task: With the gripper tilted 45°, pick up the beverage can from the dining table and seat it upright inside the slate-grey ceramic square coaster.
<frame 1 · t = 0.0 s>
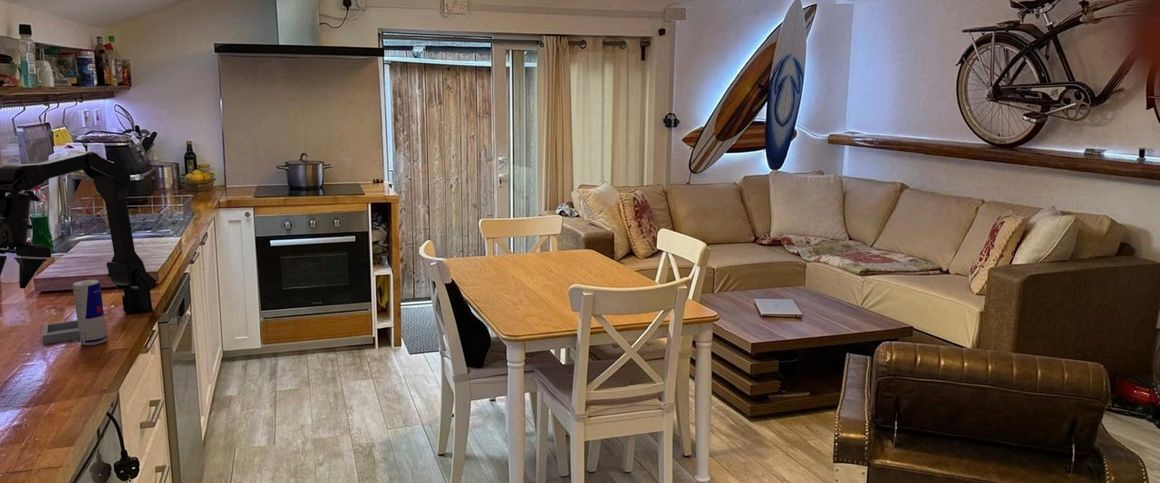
hand: (7, 286, 193), 15 cm above the table, tool pointing down, fingers open, 9 cm apart
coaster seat: (70, 334, 209), on the table
beverage can: (94, 343, 202), on the table
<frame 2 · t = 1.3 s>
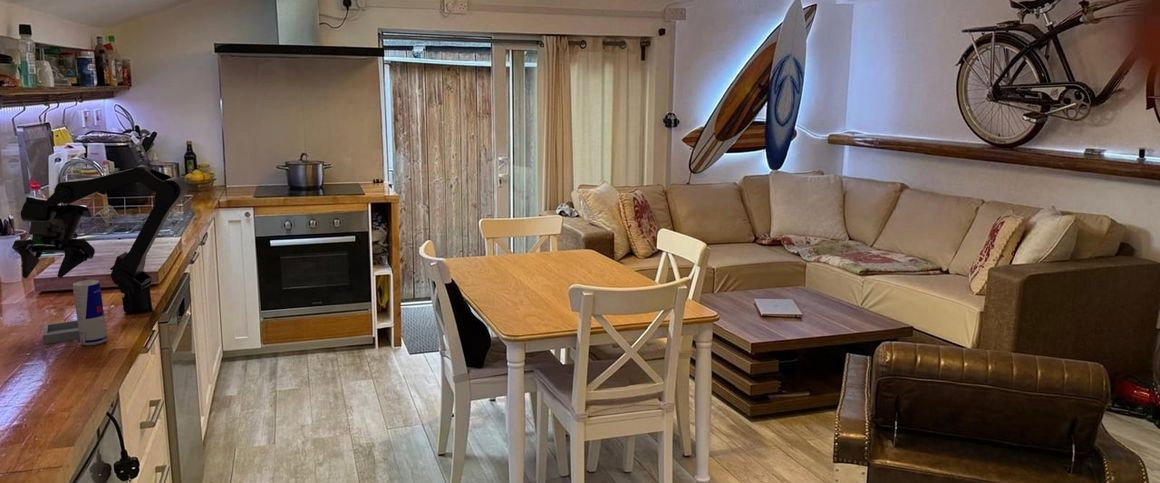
hand: (41, 277, 211), 13 cm above the table, tool tilted 45°, fingers open, 9 cm apart
nothing on the table moved.
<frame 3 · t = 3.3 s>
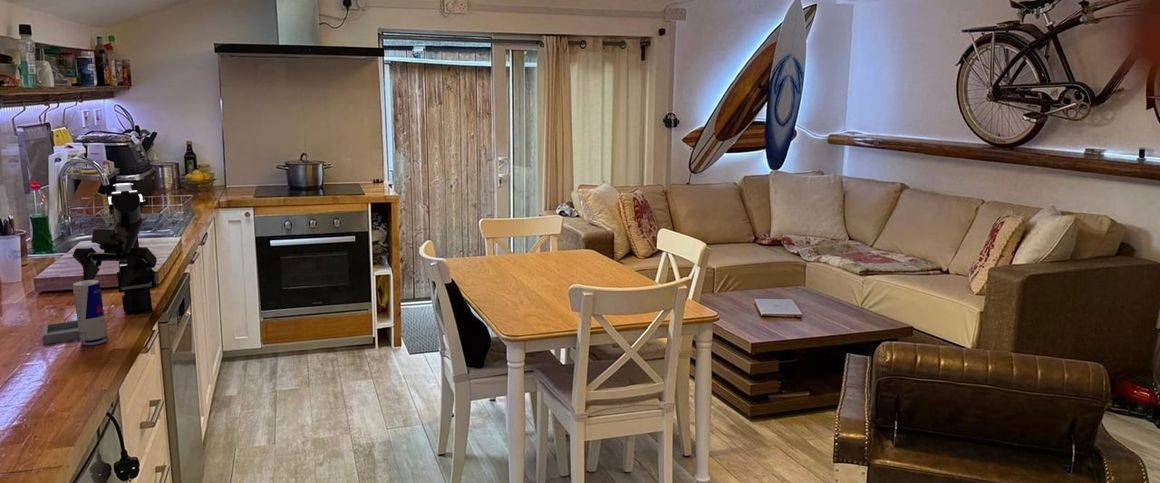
hand: (103, 286, 205), 12 cm above the table, tool tilted 45°, fingers open, 9 cm apart
nothing on the table moved.
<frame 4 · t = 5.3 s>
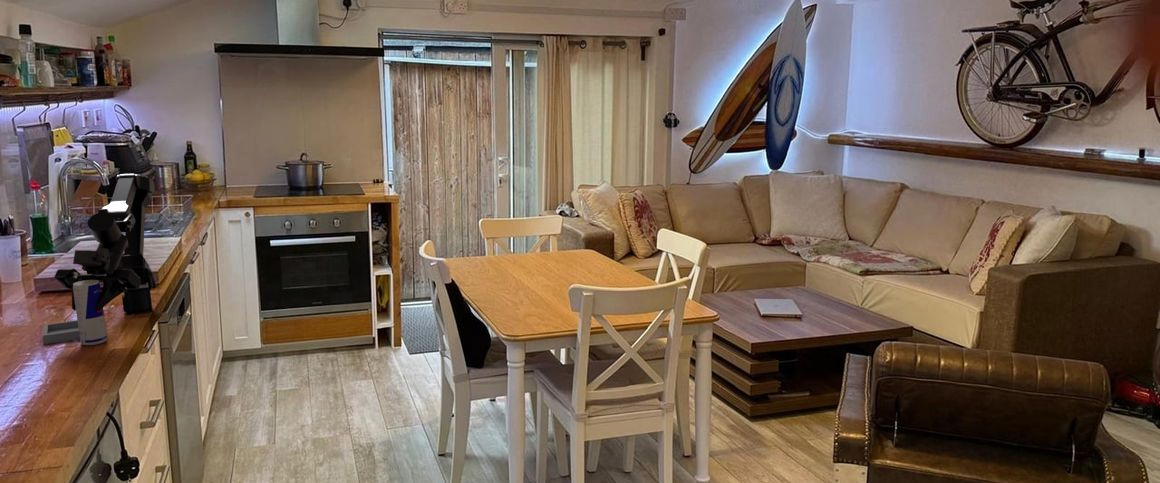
hand: (85, 309, 199), 9 cm above the table, tool tilted 45°, fingers closed on beverage can, 5 cm apart
beverage can: (94, 343, 202), on the table, touching gripper
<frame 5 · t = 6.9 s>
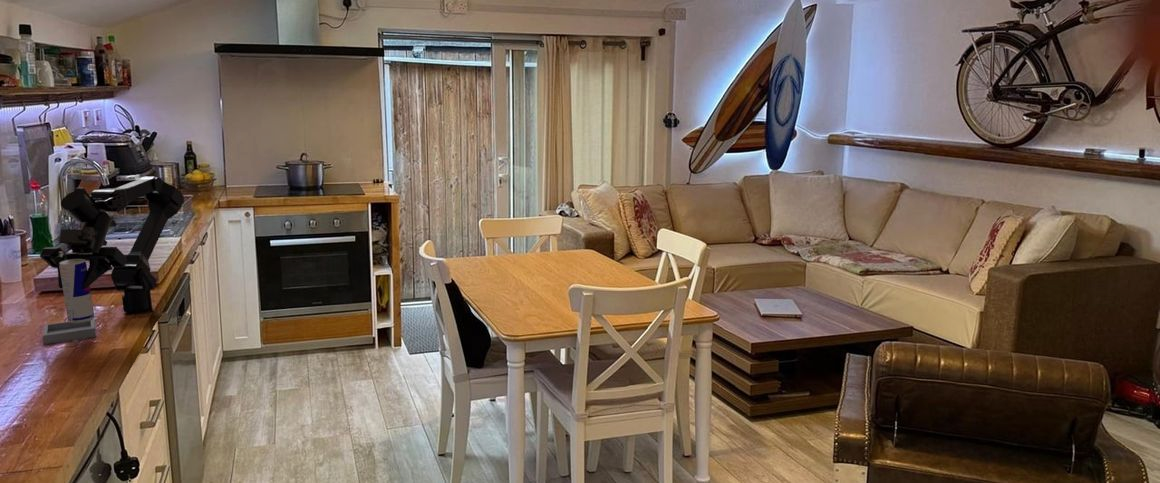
hand: (72, 287, 202), 13 cm above the table, tool tilted 45°, fingers closed on beverage can, 5 cm apart
beverage can: (81, 321, 205), point 4 cm above the table, touching gripper
when the fingers open (10 cm above the table, at t = 8.5 s): beverage can stays where it is, resting on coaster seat.
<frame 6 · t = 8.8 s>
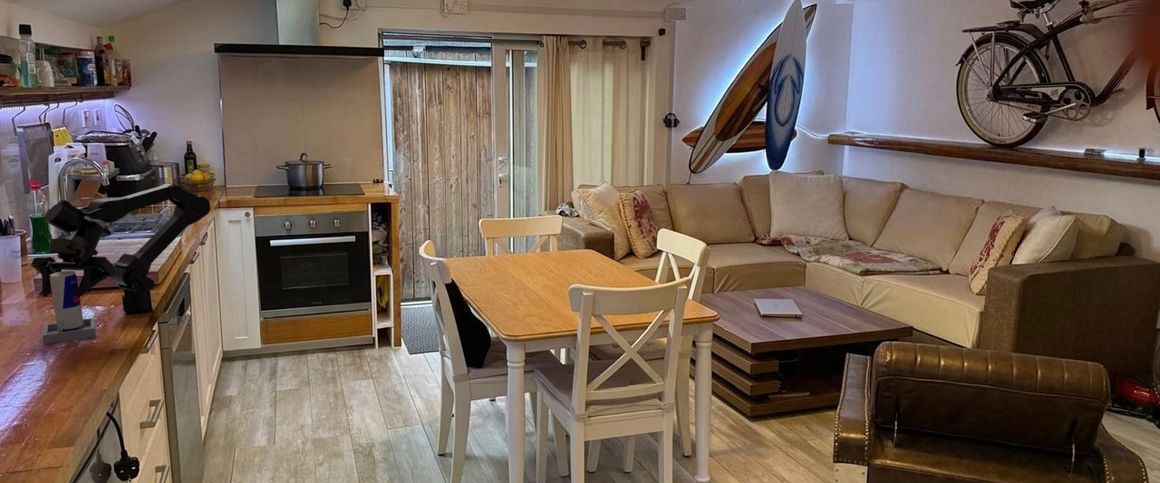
hand: (60, 296, 205), 10 cm above the table, tool tilted 45°, fingers open, 8 cm apart
beverage can: (71, 332, 209), resting on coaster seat
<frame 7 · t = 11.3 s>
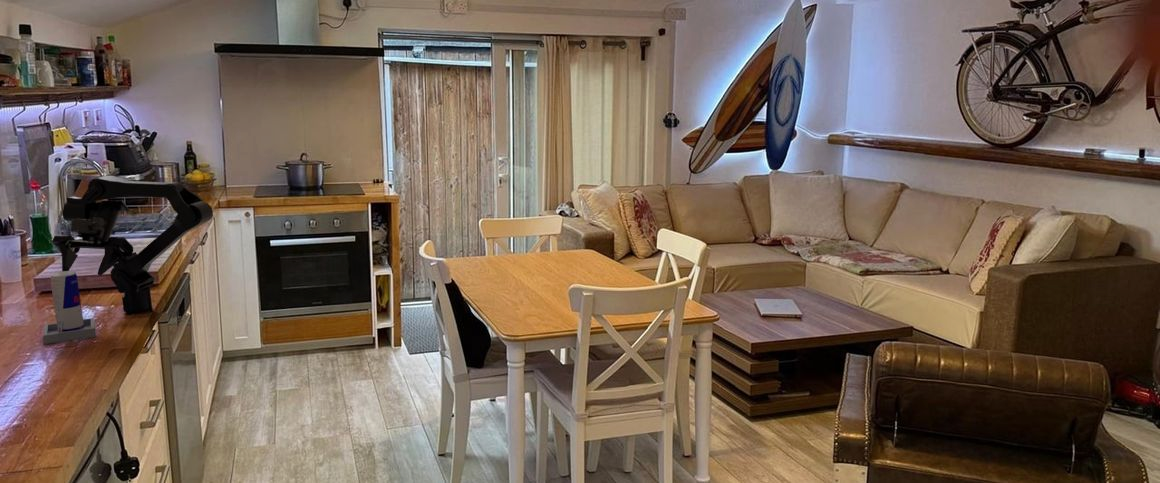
hand: (81, 274, 214), 13 cm above the table, tool tilted 40°, fingers open, 9 cm apart
nothing on the table moved.
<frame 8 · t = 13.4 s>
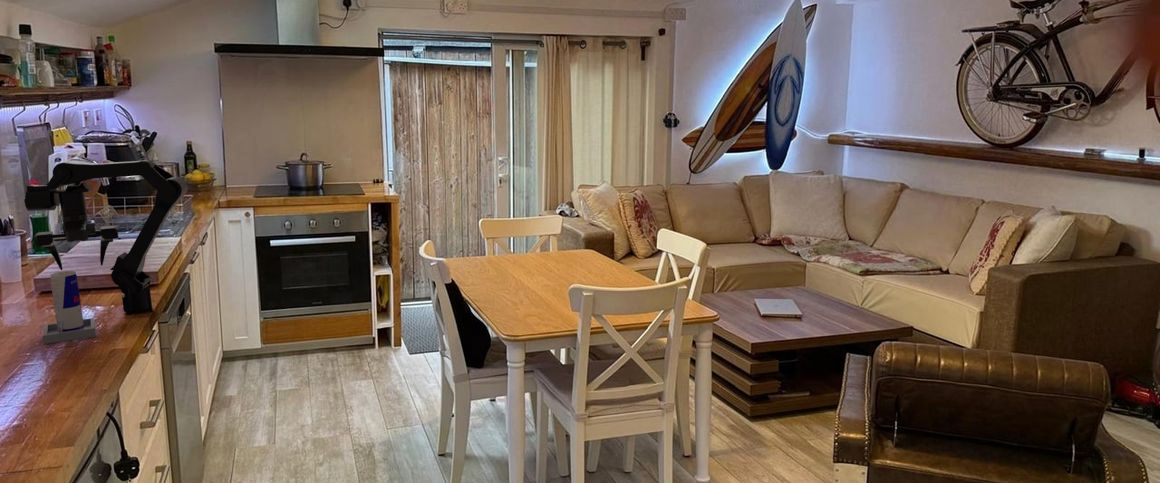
hand: (81, 267, 223), 13 cm above the table, tool pointing down, fingers open, 9 cm apart
nothing on the table moved.
at the end: beverage can 0.3 cm off-centre on the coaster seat, point 0.4 cm above the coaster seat's base; beverage can tilted 0°; the gripper is holding nothing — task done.
